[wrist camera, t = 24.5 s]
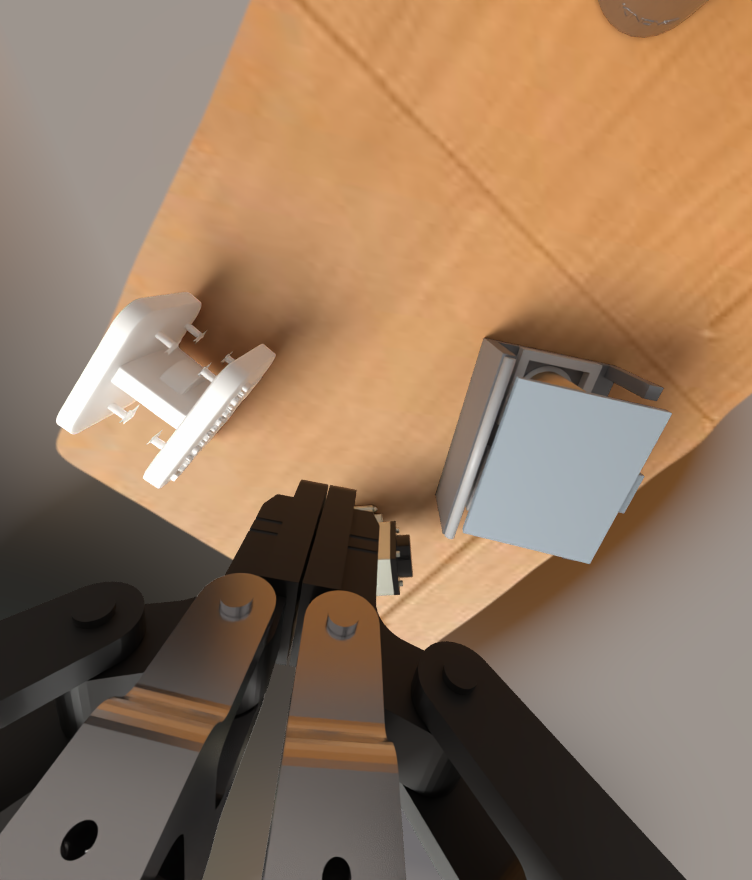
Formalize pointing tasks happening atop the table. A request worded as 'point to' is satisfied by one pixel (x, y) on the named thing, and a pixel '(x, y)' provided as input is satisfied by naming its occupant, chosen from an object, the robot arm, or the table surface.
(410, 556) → the pneumatic valve
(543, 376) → the beige rounded cylinder
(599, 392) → the housing
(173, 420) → the cable organizer
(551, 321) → the table surface
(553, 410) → the lid
